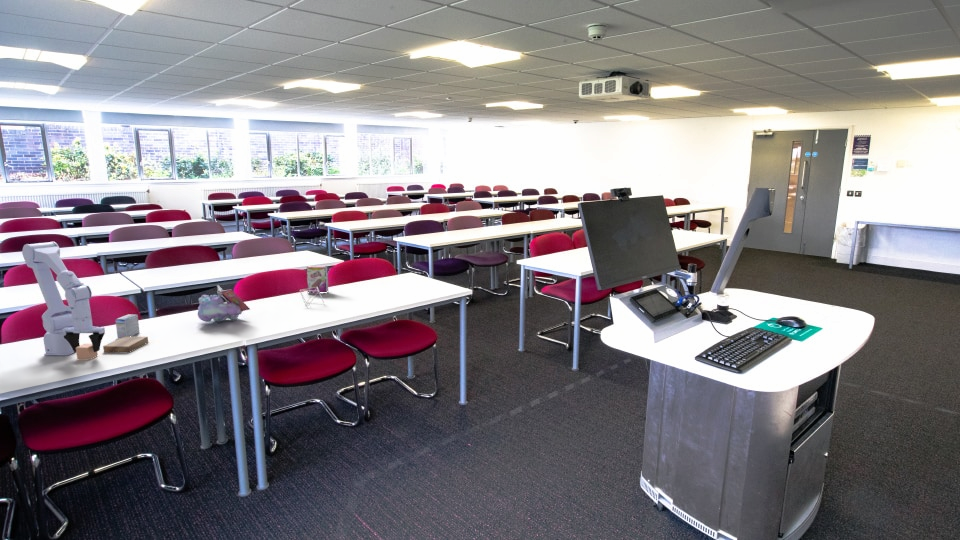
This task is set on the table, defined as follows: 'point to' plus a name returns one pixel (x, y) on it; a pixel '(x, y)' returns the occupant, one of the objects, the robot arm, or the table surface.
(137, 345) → the walnut block
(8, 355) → the table surface
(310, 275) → the candy bar box
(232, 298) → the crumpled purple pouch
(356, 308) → the table surface
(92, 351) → the terracotta block
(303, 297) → the geometric polyhedron
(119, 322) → the medicine box
